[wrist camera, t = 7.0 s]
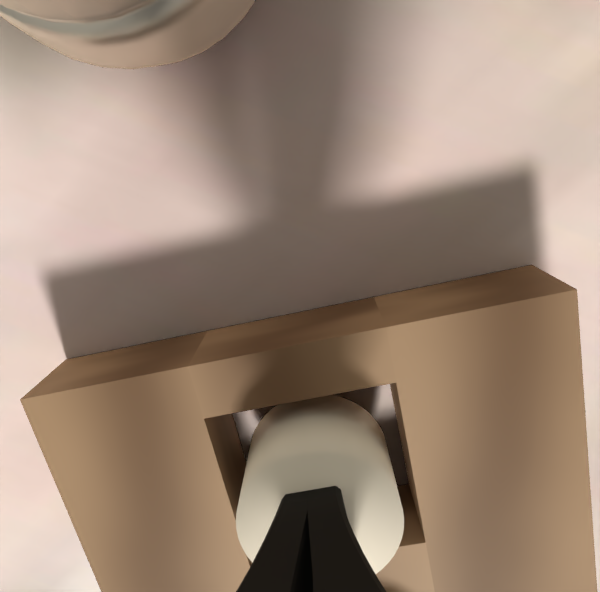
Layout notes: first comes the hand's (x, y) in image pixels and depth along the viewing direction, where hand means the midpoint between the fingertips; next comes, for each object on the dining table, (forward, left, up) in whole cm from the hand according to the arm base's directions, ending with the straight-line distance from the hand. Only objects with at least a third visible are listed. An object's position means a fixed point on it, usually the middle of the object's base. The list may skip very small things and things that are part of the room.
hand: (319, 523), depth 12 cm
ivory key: (0, 0, -3) cm, 3 cm away
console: (0, +7, -4) cm, 8 cm away
